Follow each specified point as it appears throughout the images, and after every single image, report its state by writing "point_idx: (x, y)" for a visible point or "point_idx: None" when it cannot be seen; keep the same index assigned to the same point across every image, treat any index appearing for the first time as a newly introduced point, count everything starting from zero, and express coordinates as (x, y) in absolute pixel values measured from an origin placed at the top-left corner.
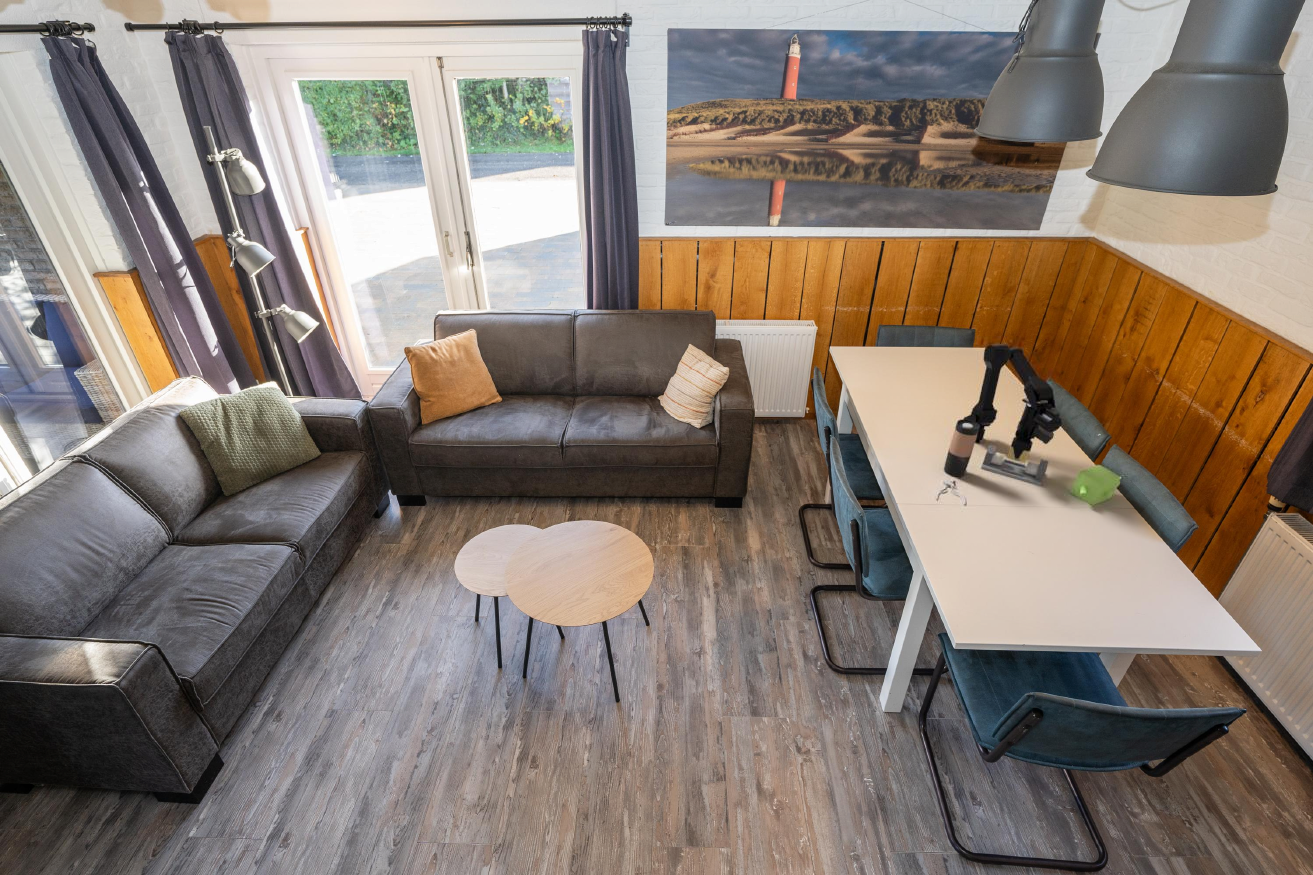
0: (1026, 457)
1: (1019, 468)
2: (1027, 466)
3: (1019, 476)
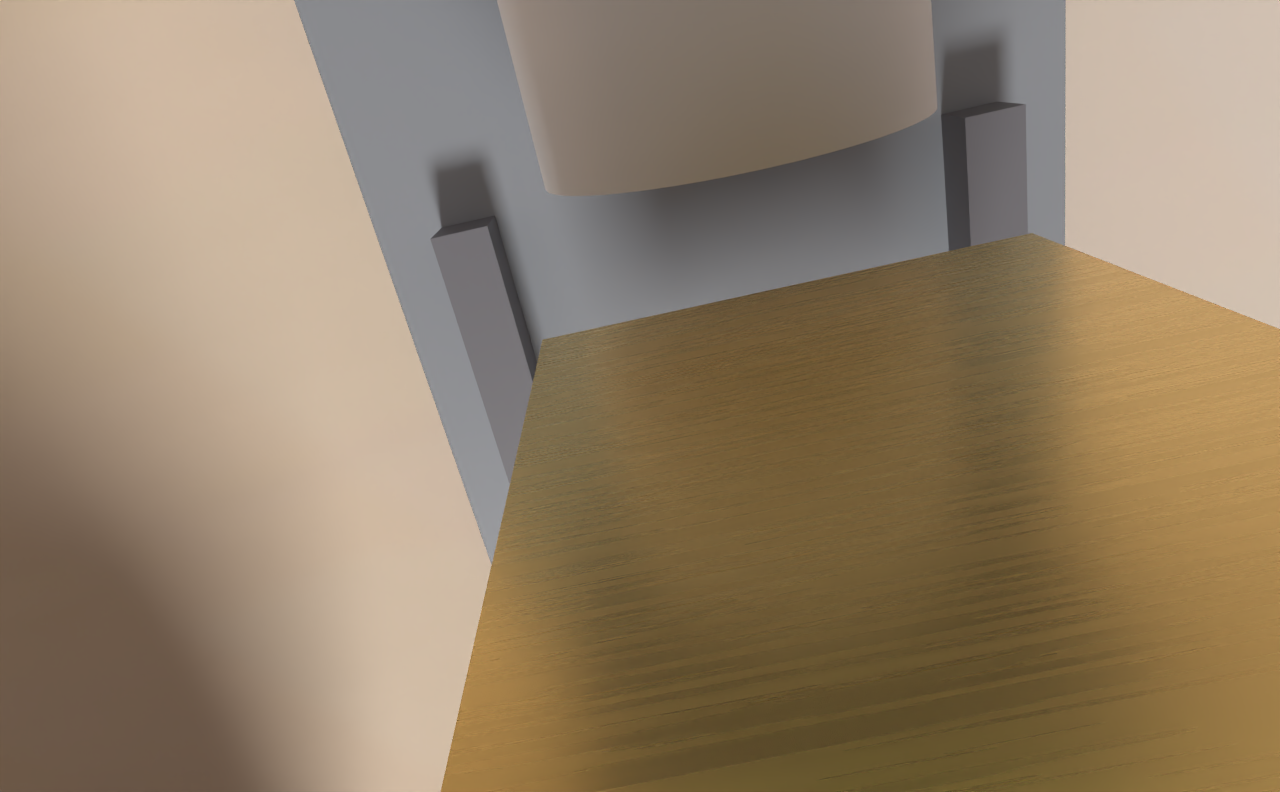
0: (1213, 329)
1: (634, 285)
2: (926, 101)
3: (1026, 149)
